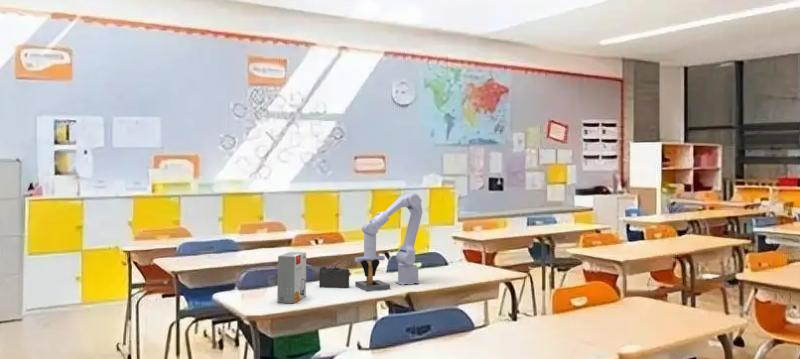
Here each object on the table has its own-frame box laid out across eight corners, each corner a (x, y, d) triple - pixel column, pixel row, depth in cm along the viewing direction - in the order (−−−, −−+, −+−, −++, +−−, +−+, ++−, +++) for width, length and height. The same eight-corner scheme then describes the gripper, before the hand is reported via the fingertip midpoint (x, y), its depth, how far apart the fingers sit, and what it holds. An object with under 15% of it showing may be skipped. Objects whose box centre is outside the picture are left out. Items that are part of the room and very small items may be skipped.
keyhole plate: (378, 284, 333) (378, 279, 333) (390, 289, 320) (390, 284, 320) (355, 286, 328) (355, 281, 328) (366, 291, 315) (366, 286, 315)
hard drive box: (294, 304, 288) (294, 256, 288) (277, 303, 290) (276, 256, 289) (306, 296, 304) (306, 251, 303) (290, 295, 305) (290, 251, 304)
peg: (371, 282, 329) (371, 265, 329) (373, 283, 327) (373, 266, 326) (365, 282, 328) (365, 266, 328) (367, 283, 326) (367, 267, 325)
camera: (352, 284, 333) (352, 264, 333) (348, 288, 322) (348, 267, 322) (323, 283, 335) (323, 263, 334) (318, 288, 324) (318, 266, 324)
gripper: (380, 245, 333) (380, 273, 334) (352, 247, 327) (352, 275, 328) (386, 247, 327) (386, 276, 327) (358, 249, 321) (357, 278, 321)
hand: (369, 276), depth 327 cm, fingers closed on peg, 3 cm apart
